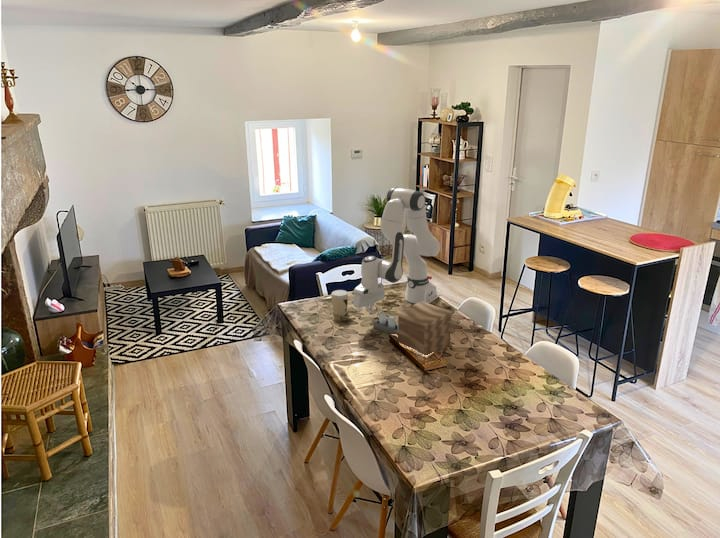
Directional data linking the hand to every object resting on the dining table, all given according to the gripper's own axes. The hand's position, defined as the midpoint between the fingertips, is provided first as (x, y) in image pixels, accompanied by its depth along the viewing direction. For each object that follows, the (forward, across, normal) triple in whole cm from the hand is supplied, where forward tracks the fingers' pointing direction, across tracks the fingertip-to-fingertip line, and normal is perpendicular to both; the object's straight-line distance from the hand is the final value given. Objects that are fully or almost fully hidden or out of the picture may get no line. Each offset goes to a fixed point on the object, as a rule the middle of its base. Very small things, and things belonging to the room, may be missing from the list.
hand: (369, 311), depth 294 cm
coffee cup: (+7, +2, -21) cm, 23 cm away
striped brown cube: (+7, 0, +38) cm, 38 cm away
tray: (+7, -1, +16) cm, 17 cm away
